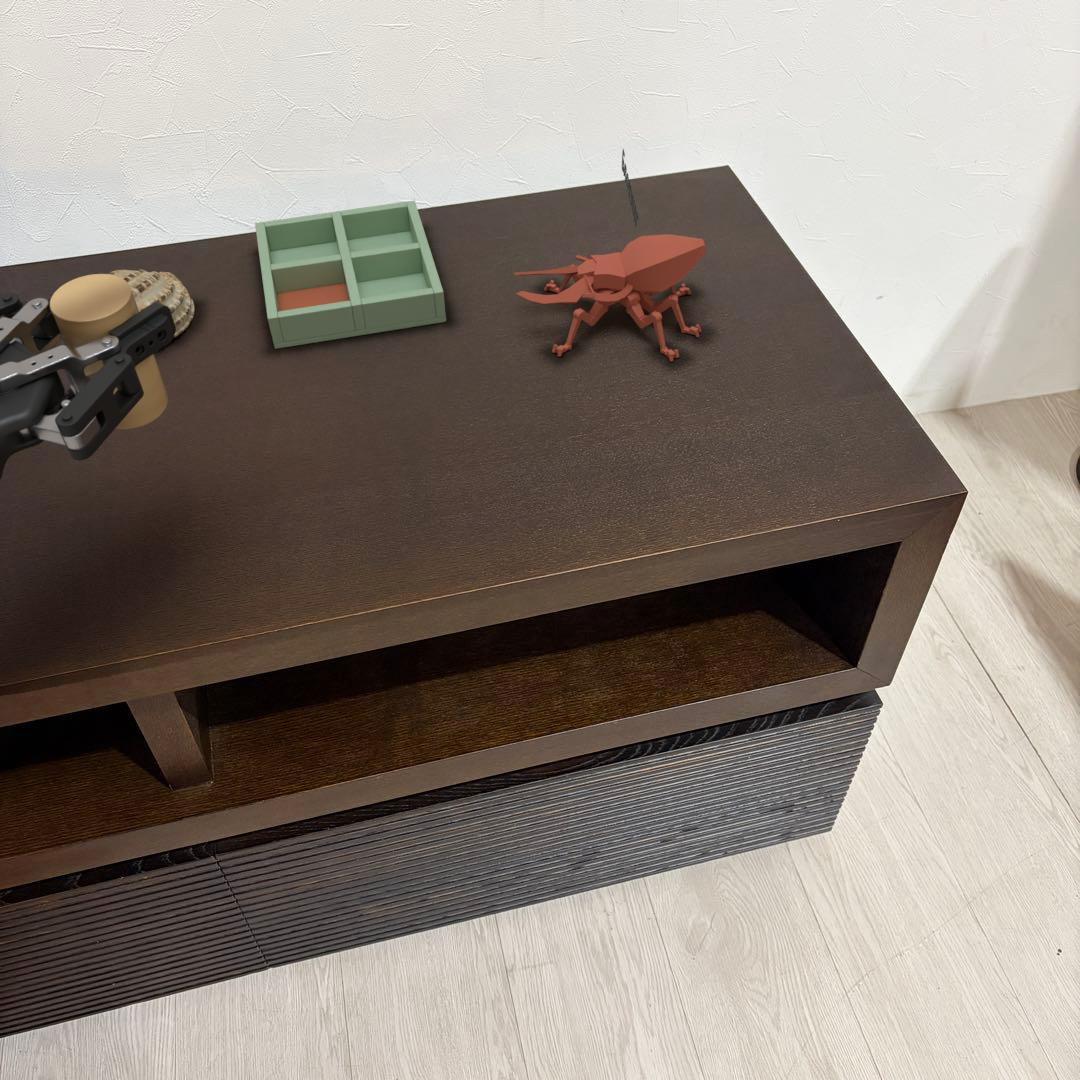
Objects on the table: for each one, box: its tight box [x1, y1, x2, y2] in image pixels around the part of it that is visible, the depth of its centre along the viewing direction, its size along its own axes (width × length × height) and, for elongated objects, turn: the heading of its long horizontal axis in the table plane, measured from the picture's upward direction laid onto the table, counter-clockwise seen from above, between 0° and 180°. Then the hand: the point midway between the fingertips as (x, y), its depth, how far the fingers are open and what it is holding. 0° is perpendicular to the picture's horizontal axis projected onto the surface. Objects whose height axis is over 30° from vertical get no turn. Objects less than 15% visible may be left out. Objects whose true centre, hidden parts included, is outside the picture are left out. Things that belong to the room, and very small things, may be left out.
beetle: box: [513, 148, 707, 362], centre depth 86 cm, size 15×12×13 cm
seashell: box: [107, 268, 195, 339], centre depth 88 cm, size 8×6×10 cm
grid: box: [254, 200, 447, 350], centre depth 92 cm, size 14×14×3 cm
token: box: [50, 273, 169, 430], centre depth 64 cm, size 4×4×8 cm
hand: (137, 301), depth 64 cm, fingers closed on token, 4 cm apart
